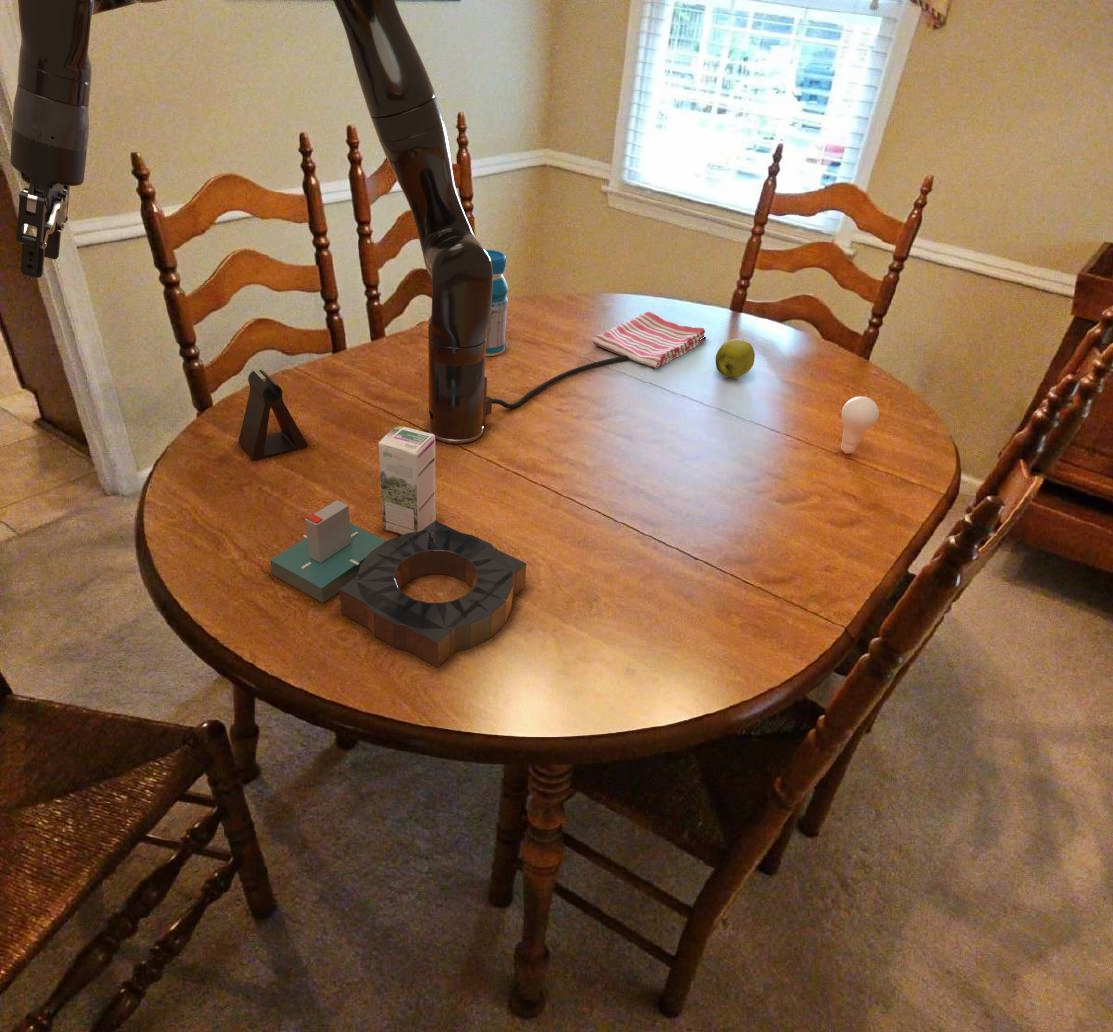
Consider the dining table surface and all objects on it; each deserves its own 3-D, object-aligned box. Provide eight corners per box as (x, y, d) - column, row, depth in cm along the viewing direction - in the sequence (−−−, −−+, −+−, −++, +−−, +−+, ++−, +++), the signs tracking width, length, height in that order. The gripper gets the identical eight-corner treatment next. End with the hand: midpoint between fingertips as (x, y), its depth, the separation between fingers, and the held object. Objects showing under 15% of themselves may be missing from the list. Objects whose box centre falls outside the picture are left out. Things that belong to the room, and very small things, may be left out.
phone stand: (252, 461, 120) (241, 391, 113) (238, 444, 123) (226, 375, 116) (307, 447, 124) (300, 379, 118) (293, 431, 128) (285, 364, 121)
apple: (755, 374, 165) (764, 339, 160) (740, 388, 158) (749, 352, 154) (721, 364, 168) (730, 329, 163) (705, 377, 161) (713, 341, 157)
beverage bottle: (503, 359, 159) (509, 262, 148) (463, 355, 159) (465, 258, 148) (506, 343, 166) (511, 250, 155) (467, 340, 166) (469, 246, 155)
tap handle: (340, 537, 102) (337, 498, 98) (351, 542, 101) (348, 503, 98) (309, 557, 98) (304, 517, 94) (320, 563, 97) (316, 523, 94)
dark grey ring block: (426, 536, 108) (426, 513, 106) (539, 591, 101) (542, 567, 98) (326, 609, 94) (323, 584, 92) (448, 678, 87) (449, 653, 84)
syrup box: (436, 519, 111) (437, 432, 103) (417, 542, 107) (416, 452, 98) (401, 509, 113) (398, 422, 104) (381, 531, 108) (376, 441, 100)
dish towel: (705, 342, 178) (708, 327, 176) (655, 371, 161) (657, 355, 159) (642, 320, 185) (645, 306, 183) (588, 346, 169) (590, 331, 167)
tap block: (338, 530, 107) (337, 514, 106) (391, 557, 103) (390, 541, 102) (270, 573, 99) (267, 557, 97) (325, 604, 95) (323, 588, 93)
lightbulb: (865, 450, 141) (885, 396, 135) (861, 465, 136) (882, 409, 130) (831, 441, 143) (849, 387, 136) (826, 455, 138) (845, 400, 132)
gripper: (73, 156, 88) (61, 291, 95) (98, 138, 99) (85, 260, 106) (-5, 131, 85) (-12, 273, 92) (29, 115, 96) (20, 242, 103)
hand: (40, 266), depth 99 cm, fingers open, 8 cm apart
